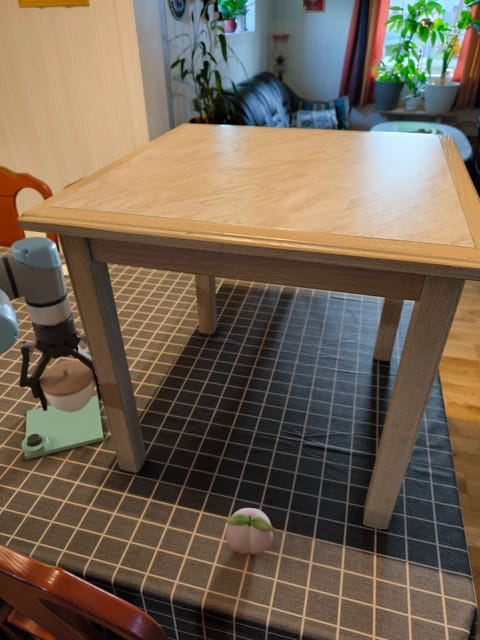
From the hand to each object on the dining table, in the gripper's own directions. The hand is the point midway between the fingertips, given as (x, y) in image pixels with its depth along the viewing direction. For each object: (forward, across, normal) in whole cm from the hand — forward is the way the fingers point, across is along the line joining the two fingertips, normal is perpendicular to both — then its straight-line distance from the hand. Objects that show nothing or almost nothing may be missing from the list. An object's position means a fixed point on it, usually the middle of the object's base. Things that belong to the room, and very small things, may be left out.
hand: (73, 400), depth 97 cm
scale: (+18, +5, -11) cm, 21 cm away
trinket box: (+1, 0, 0) cm, 1 cm away
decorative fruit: (+18, -29, +34) cm, 48 cm away
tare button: (+15, +11, -5) cm, 19 cm away
